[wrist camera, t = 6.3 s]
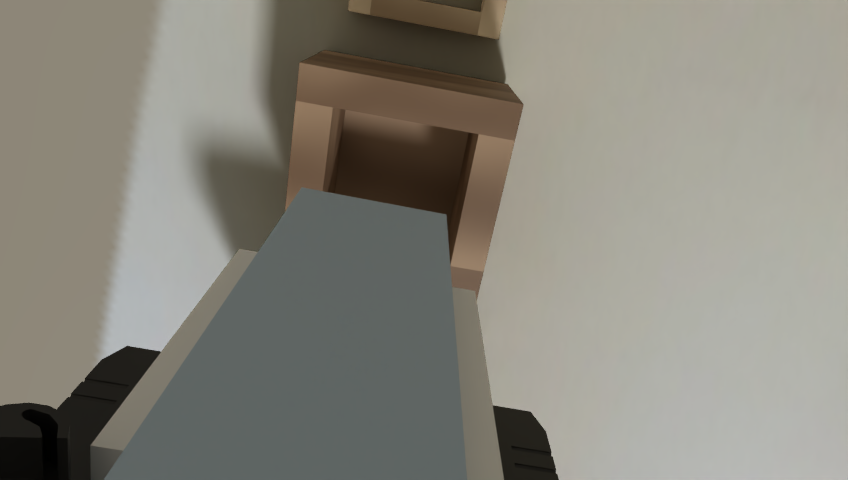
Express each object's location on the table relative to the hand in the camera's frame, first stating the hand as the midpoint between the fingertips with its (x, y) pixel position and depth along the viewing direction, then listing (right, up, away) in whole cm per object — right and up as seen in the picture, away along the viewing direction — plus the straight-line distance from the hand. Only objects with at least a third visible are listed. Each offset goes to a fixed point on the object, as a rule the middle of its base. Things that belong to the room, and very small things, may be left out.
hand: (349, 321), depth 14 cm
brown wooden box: (+1, +6, +17) cm, 18 cm away
